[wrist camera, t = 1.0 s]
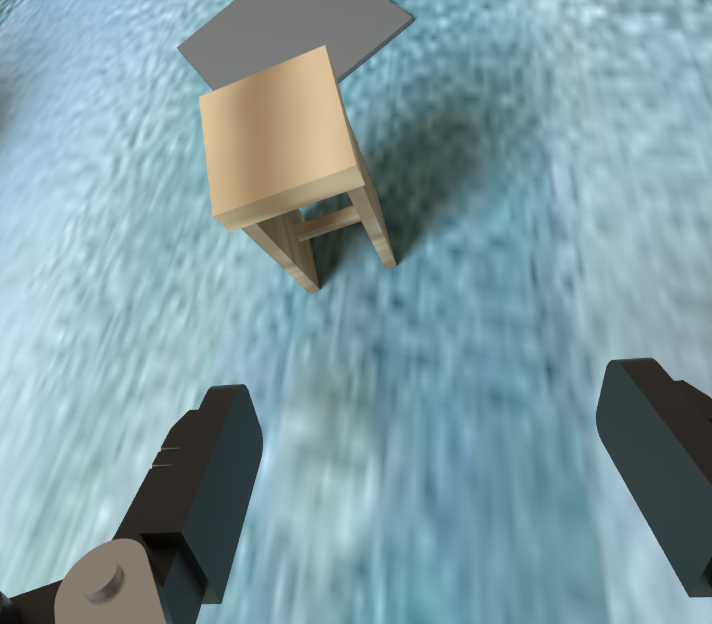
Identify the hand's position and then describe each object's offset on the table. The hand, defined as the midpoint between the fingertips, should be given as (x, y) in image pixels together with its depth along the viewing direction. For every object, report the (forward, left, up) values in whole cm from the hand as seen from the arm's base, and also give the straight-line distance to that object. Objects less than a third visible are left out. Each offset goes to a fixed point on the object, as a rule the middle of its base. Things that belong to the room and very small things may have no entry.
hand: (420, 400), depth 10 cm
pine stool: (-2, -15, -17) cm, 22 cm away
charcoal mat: (-10, -35, -17) cm, 40 cm away
